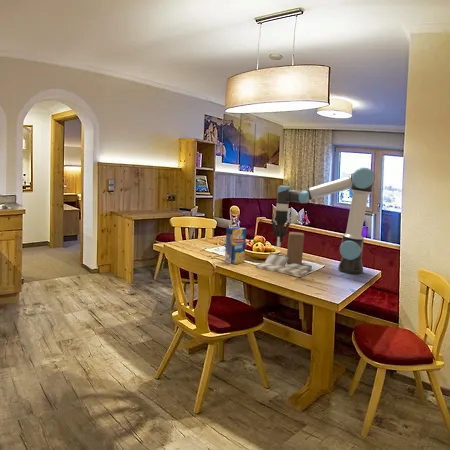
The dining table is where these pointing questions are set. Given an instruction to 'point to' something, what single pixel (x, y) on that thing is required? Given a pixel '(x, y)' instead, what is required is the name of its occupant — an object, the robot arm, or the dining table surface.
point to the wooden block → (295, 247)
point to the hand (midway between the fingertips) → (278, 246)
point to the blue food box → (235, 245)
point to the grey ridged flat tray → (281, 269)
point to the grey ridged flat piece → (277, 259)
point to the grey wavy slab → (300, 266)
